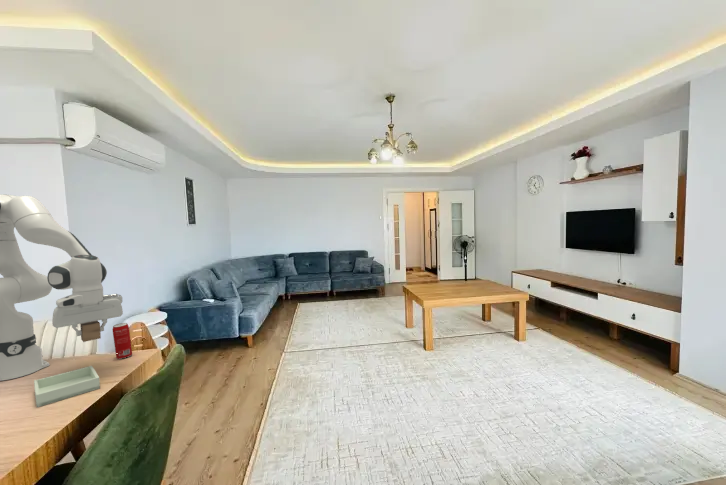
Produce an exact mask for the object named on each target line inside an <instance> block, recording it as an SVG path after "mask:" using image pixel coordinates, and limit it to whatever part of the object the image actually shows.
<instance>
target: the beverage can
mask: <svg viewBox="0 0 726 485" xmlns="http://www.w3.org/2000/svg"><path fill="white" fill-rule="evenodd" d="M130 334H131V333H130V327H129V324H128V322H121V323H117V324H114V325H113V326H112V336H113V344H114V351H115V358H116V359H117V360H123V359H122V358H125V359H127V358H126V357H128V358H130V357H131V356H132V355H133V350H132V349H133V348H132V342H131V335H130ZM116 353H118V354H116ZM129 356H130V357H129Z"/></svg>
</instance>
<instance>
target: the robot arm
mask: <svg viewBox="0 0 726 485" xmlns="http://www.w3.org/2000/svg"><path fill="white" fill-rule="evenodd" d="M15 229H16V231H17V233H18V234H19V235H20V236H21V237H22V238H23V239H25V241H27V242H30V243H33V244H38V245H44V246H49V247H53V248H58V249H59V250H62V251H64V252H66V253H67V255H69V256H70V259H69V260H68V261H66V262H65V263H62V264H59V265H54V266H53V267H51V268H50V270H48V273H47V275H44V274H42V273H41V272H38V271H36V270H35V269H33V268H32V267H31V266H30V265H29V264H28V263H27V262H26V261H25V259H24V256H23V255H22V252H21V249H20V247H19V243H18V239H17V237H16V234H15ZM107 273H108V271H107V269H106V267H105V264H103V263H102V262H101V261H100V258H99V257H98V256H96V255H93V254H92V253H91V252H90V251H89V250H88V248H86V246H85V245H84V244H83V242H81V241H80V239H79V238H78V237H76V235H75V234H74V233H72V232H71V231H69V230H67V229H66V228H64V227H62V226H61V224H60V223H58V222H57V221H56V220H55V218H54V217H53V216H52V215H51V213H50V212H49V210H48V209H47V208H46V206H44V204H43V203H42V202H41V201H40V200H39V199H37V198H36V197H33V196H30V195H19V196H18V195H12V194H0V275H1V276H2V277H0V381H7V380H8V381H9V380H12V379H17V378H22V377H23V376H27V375H28V376H29V375H31V374H33V373H36V372H37V371H39V370H41V369H44V368H47V367H49V366H50V362H48V361H46V360H44V359H43V351H42V349H43V348H42V346H39V345H37V344H36V343H37V337H36V334H35V332H34V319H33V318H34V317H32V315H30V314H29V313H26V312H22V311H18V310H17V309H16V307H15V304H20V303H25V302H31V301H36V300H38V299H41V298H45V297H47V296H48V295H49V294H50V293H51V292H52V290H53V289H55V290H58V291H59V290H70V289H72V290H71V294H70V295H67V296H64V297H61V298H58V299H57V300H55V305H56V307H55V308H54V309H53V312H52V326H53V327H54V328H56V329H57V328H58V329H60V328H63V327H64V328H65V327H71V328H72V329H73V330H74V331H75V334H76V337H81V335H82V330H81V329H79V330H78V329H77V328H78V327H79V326H78V325H80V324H82V323H87V322H93V321H98V322H99V321H101V322H102V323H101V324H100V333H101V332H104V331H105V326H106V324H107V323H108V319H112V318H114V319H115V318H119V317H121V316H123V315H124V310H123V305H122V303H123V296H122V295H121V294H118V293H113V294H112V293H111V294H104V287H103V284H102V283H103V282H104V280H106V277H107Z"/></svg>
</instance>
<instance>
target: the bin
mask: <svg viewBox="0 0 726 485" xmlns="http://www.w3.org/2000/svg"><path fill="white" fill-rule="evenodd" d="M100 383H101V382H100V376H99V375H98V373H97V371H96V369H95V368H94V366H93V365H89V366H85V367H82V368H81V367H80V368H77V369H73V370H70V371H67V372H62V373H58V374H55V375H50V376H46V377H43V378H39V379H34V380H33V385H34V387H33V388H34V389H33V390H34V396H35V405H36V408H40V407H43V406H46V405H50V404H54V403H56V402H59V401H62V400H66V399H70V398H73V397H76V396H79V395H82V394H85V393H90V392H92V391H96V390H100V389H101V384H100Z"/></svg>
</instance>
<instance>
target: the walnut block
mask: <svg viewBox="0 0 726 485" xmlns="http://www.w3.org/2000/svg"><path fill="white" fill-rule="evenodd" d="M79 325H80V327H79V328H80V330H82V335H81V336H80V340H81V341H82V342H83V343H85V342H90V341H91V342H92V341H95V340H98V339H99V340H100V339H101V338H102V336H101V332H100V326H101V323H100V321H99V320H98V321H93V322H87V323H82V324H79Z"/></svg>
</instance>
